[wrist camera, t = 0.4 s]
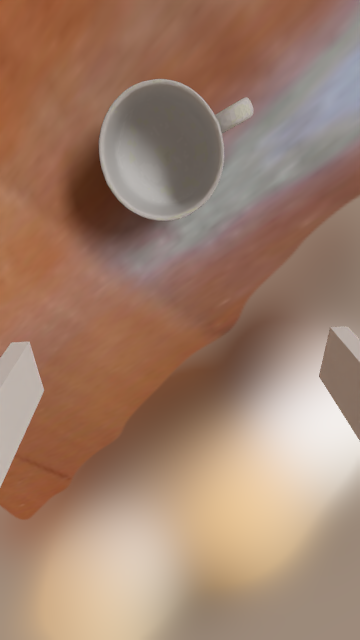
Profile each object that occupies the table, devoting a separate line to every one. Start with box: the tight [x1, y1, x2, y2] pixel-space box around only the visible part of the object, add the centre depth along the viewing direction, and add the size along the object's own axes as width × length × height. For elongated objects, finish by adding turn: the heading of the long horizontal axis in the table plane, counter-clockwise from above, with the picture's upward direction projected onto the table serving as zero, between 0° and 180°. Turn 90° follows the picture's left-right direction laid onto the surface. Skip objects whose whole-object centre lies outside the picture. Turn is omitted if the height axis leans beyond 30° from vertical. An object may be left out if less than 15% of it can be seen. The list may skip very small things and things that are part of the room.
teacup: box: [99, 79, 253, 221], centre depth 31 cm, size 14×11×8 cm
